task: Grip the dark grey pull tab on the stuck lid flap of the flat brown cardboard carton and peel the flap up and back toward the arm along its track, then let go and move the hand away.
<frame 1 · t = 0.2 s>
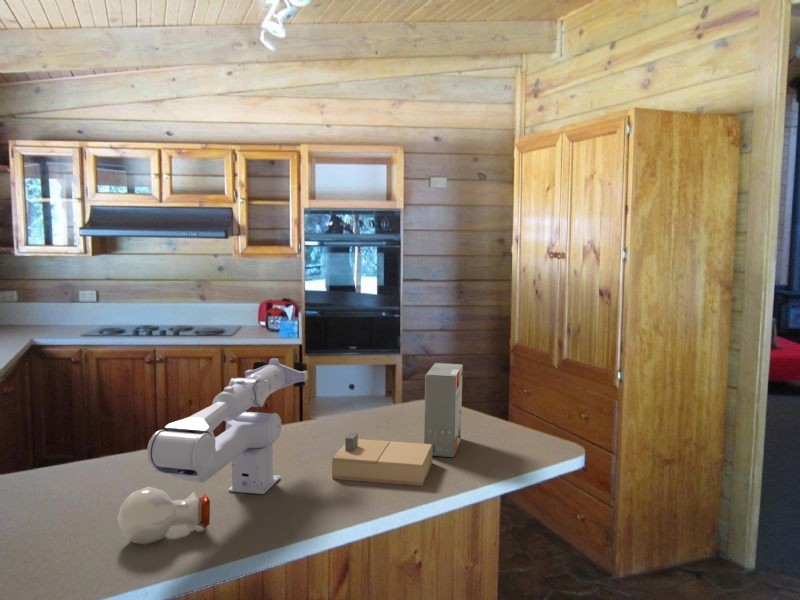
hand: (290, 367, 158), 21 cm above the countertop, tool horizontal, fingers open, 7 cm apart
lid flap: (362, 444, 149), point 6 cm above the countertop, slide at 0.0 cm
carton: (383, 470, 149), on the countertop
potion bottle: (165, 537, 117), on the countertop
hard drive box: (443, 447, 165), on the countertop
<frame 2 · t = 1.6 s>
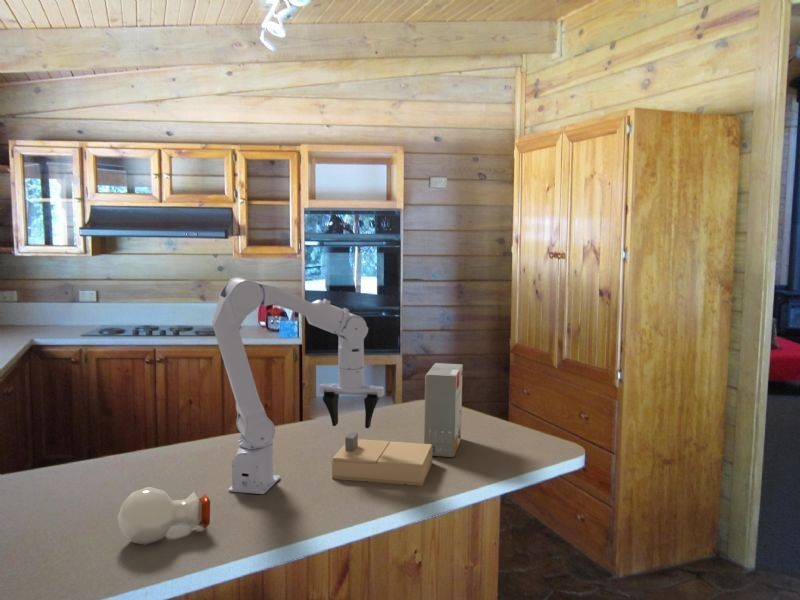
hand: (351, 425, 149), 10 cm above the countertop, tool pointing down, fingers open, 7 cm apart
nothing on the countertop moved.
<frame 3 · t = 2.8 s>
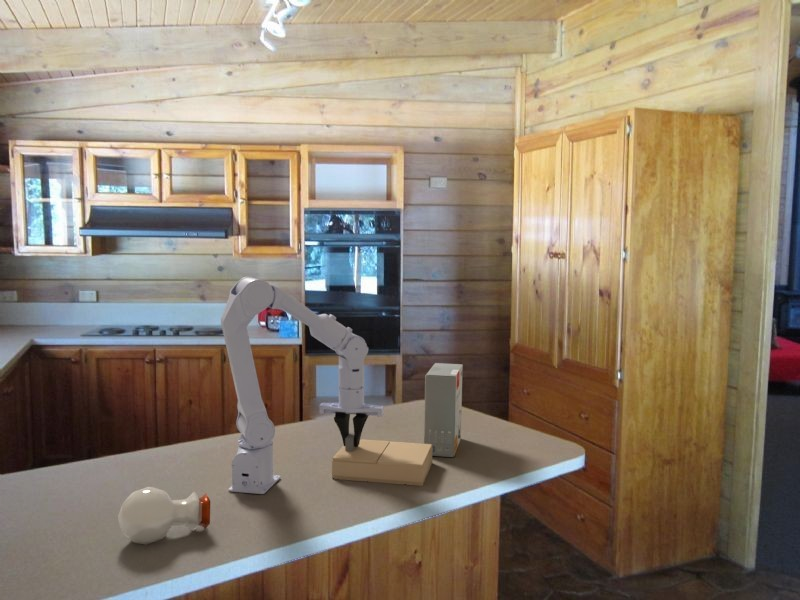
hand: (351, 445, 150), 5 cm above the countertop, tool pointing down, fingers closed on lid flap, 2 cm apart
lid flap: (362, 444, 149), point 6 cm above the countertop, slide at 0.0 cm, touching gripper
everything else where it was.
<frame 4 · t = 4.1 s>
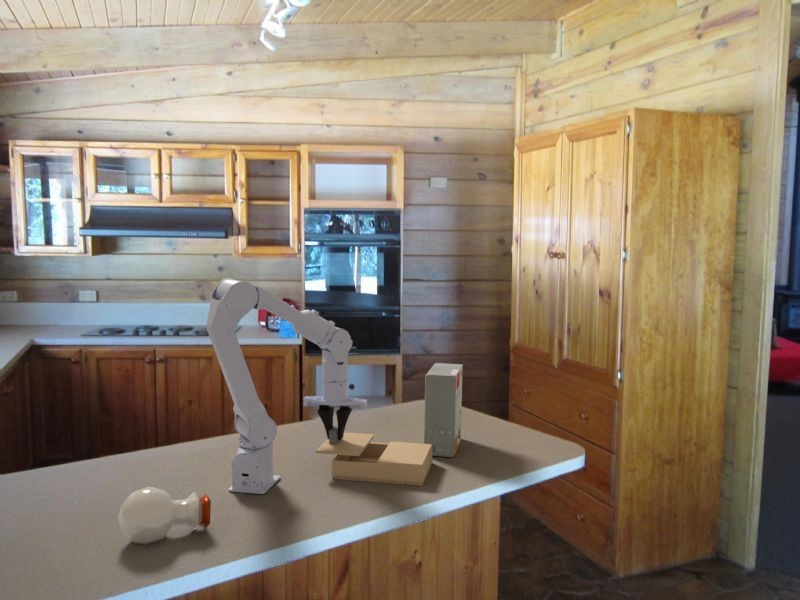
hand: (335, 438, 150), 7 cm above the countertop, tool pointing down, fingers closed on lid flap, 2 cm apart
lid flap: (346, 437, 150), point 7 cm above the countertop, slide at 4.0 cm, touching gripper
everything else where it was.
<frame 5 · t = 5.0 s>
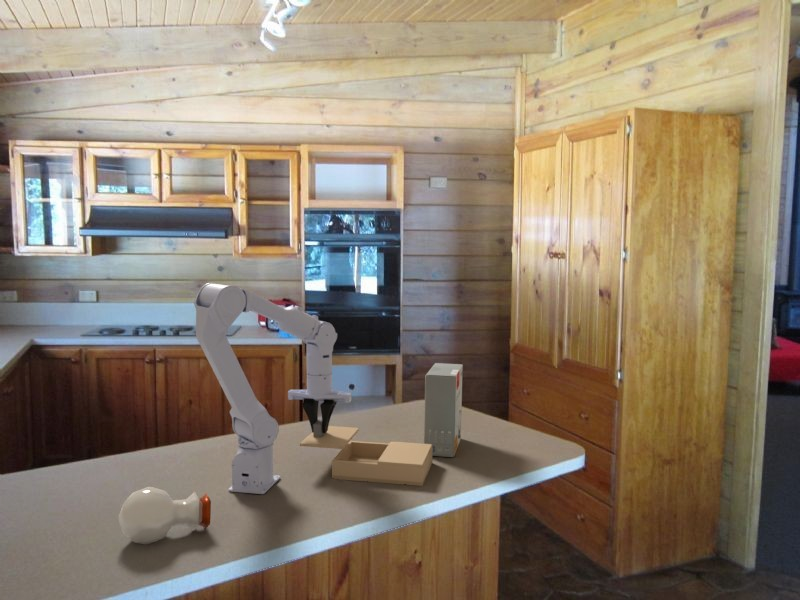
hand: (319, 431, 151), 8 cm above the countertop, tool pointing down, fingers closed on lid flap, 2 cm apart
lid flap: (330, 430, 150), point 9 cm above the countertop, slide at 8.0 cm, touching gripper
everything else where it was.
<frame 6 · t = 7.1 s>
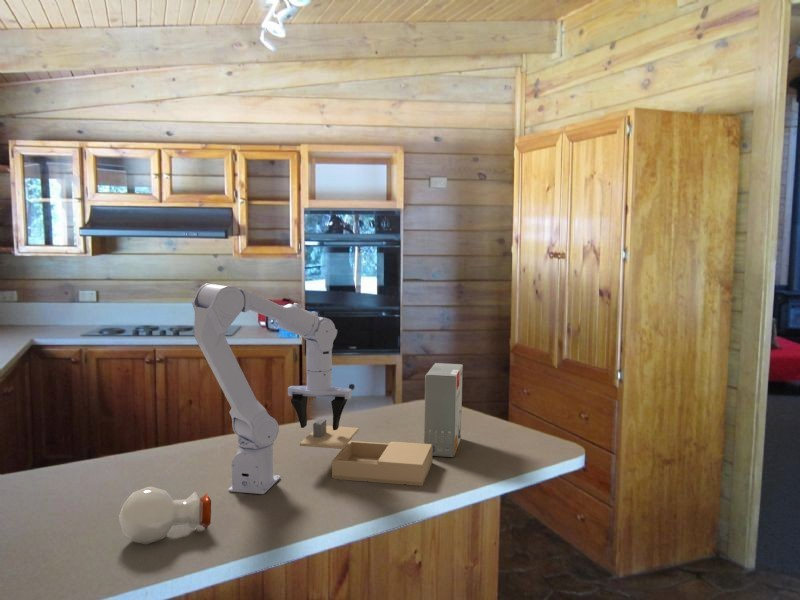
hand: (319, 427, 151), 9 cm above the countertop, tool pointing down, fingers open, 7 cm apart
lid flap: (330, 430, 150), point 9 cm above the countertop, slide at 8.0 cm
everything else where it was.
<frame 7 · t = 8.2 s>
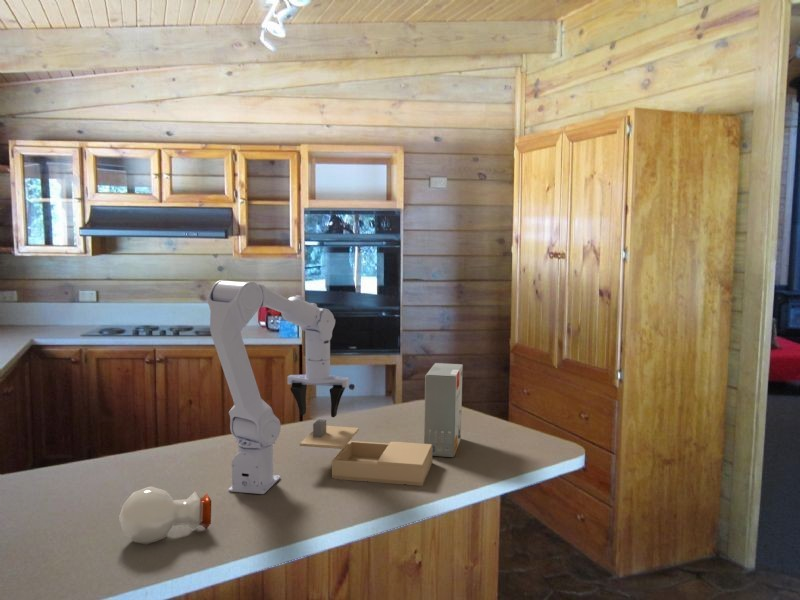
hand: (318, 415, 156), 10 cm above the countertop, tool pointing down, fingers open, 7 cm apart
nothing on the countertop moved.
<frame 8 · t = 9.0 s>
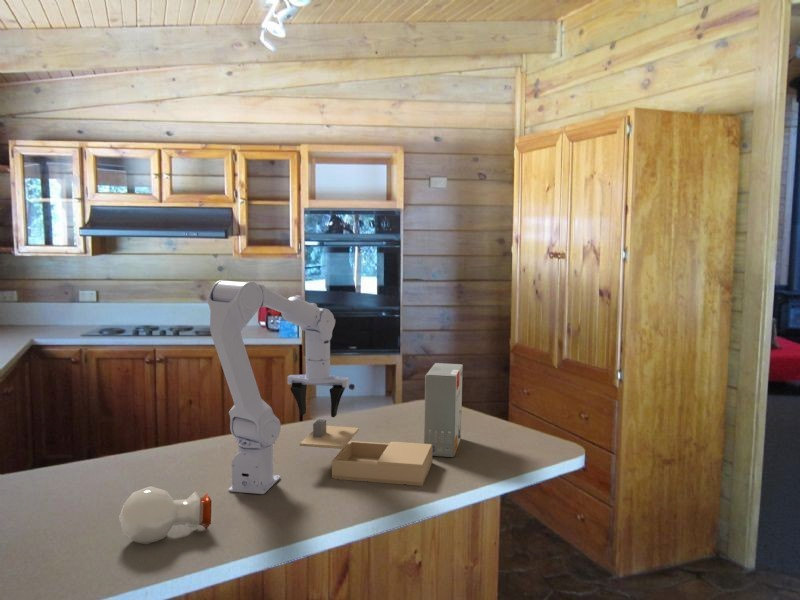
hand: (318, 415, 156), 10 cm above the countertop, tool pointing down, fingers open, 7 cm apart
nothing on the countertop moved.
at the end: lid flap slide at 8.0 cm; the gripper is holding nothing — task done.
